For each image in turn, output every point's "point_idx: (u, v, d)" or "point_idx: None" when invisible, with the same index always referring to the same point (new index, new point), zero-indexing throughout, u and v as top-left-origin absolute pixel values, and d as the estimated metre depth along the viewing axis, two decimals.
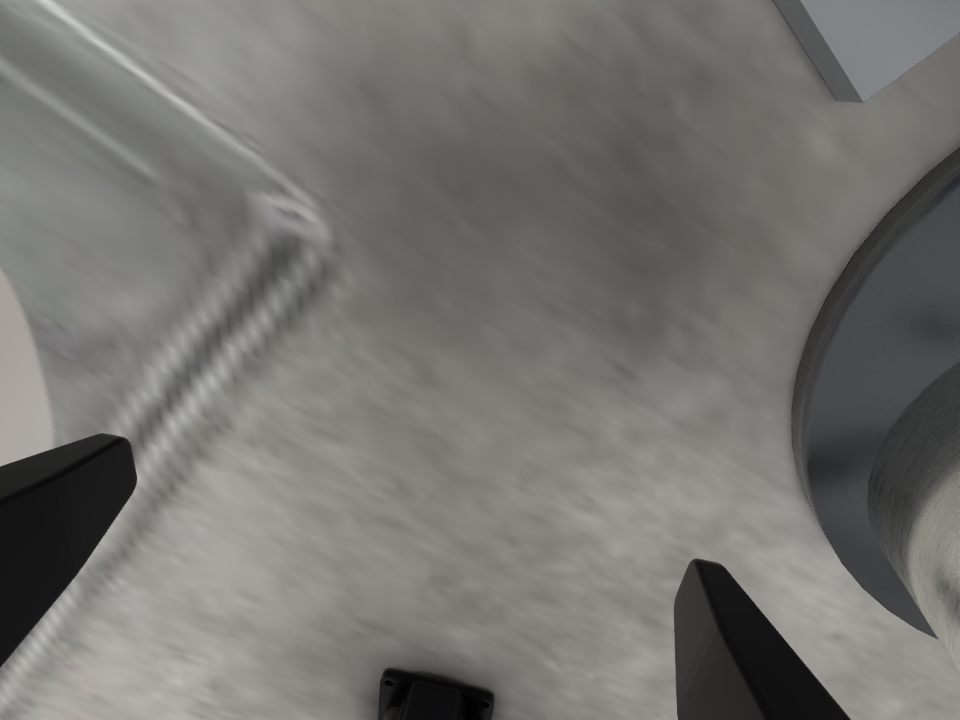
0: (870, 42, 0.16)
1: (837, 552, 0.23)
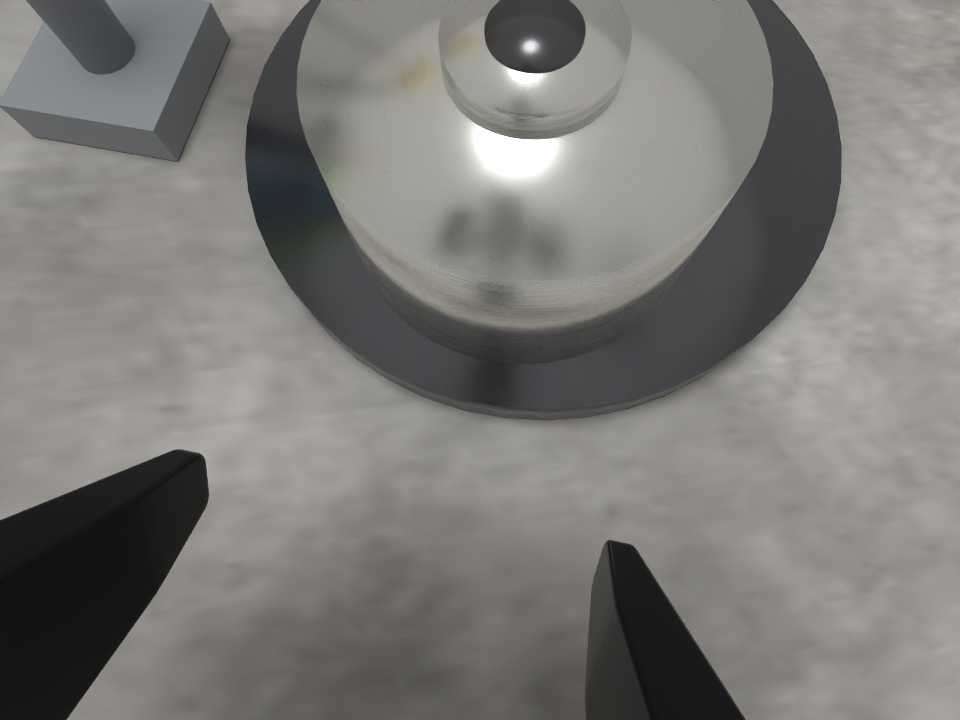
0: (132, 109, 0.25)
1: (445, 390, 0.21)
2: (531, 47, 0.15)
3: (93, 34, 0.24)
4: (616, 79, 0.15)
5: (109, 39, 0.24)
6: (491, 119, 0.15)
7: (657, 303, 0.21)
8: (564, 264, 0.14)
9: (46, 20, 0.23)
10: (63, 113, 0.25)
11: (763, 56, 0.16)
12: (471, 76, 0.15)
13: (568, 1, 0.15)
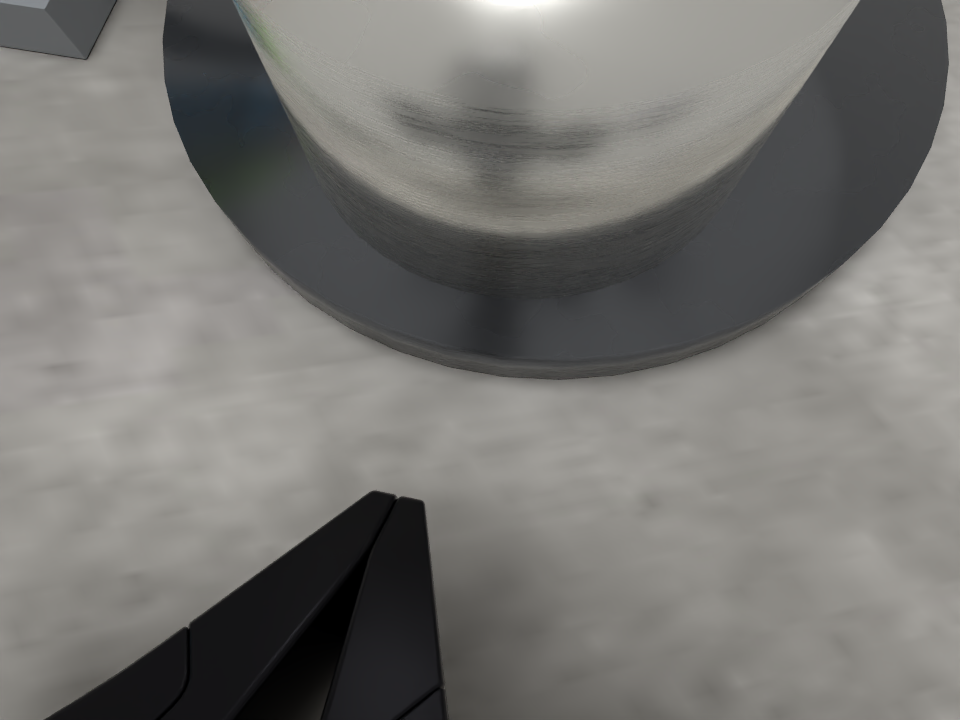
0: None
1: (422, 334, 0.15)
2: None
3: None
4: None
5: None
6: None
7: (713, 214, 0.15)
8: (601, 83, 0.09)
9: None
10: None
11: None
12: None
13: None
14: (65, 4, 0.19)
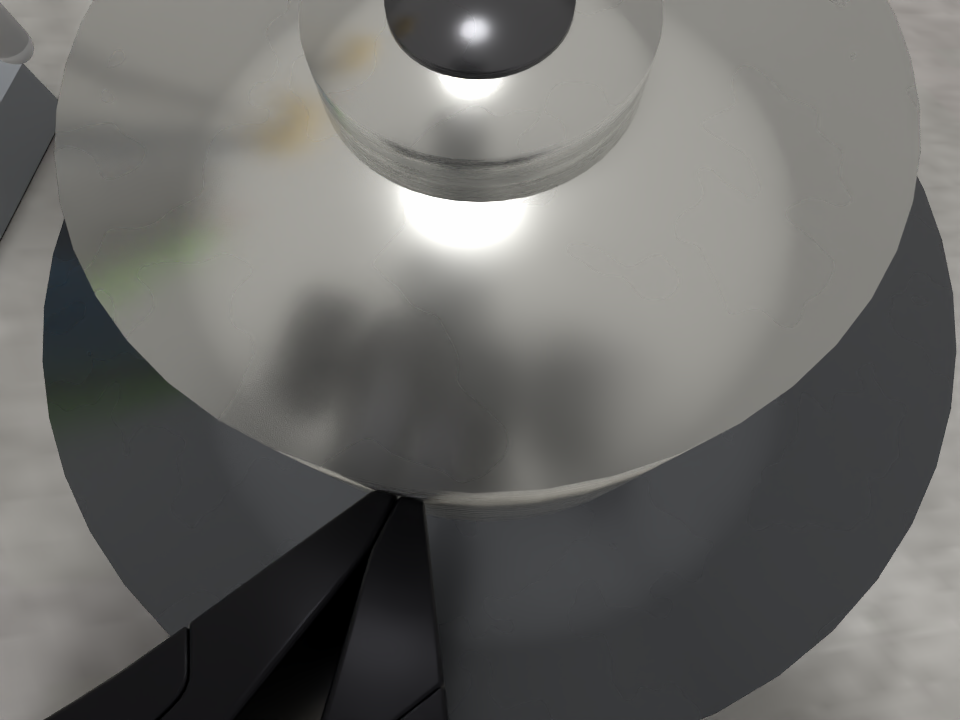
0: None
1: None
2: (471, 29, 0.08)
3: None
4: (633, 92, 0.08)
5: None
6: (395, 164, 0.08)
7: None
8: (524, 460, 0.07)
9: None
10: None
11: (896, 53, 0.09)
12: (354, 83, 0.08)
13: None
14: None
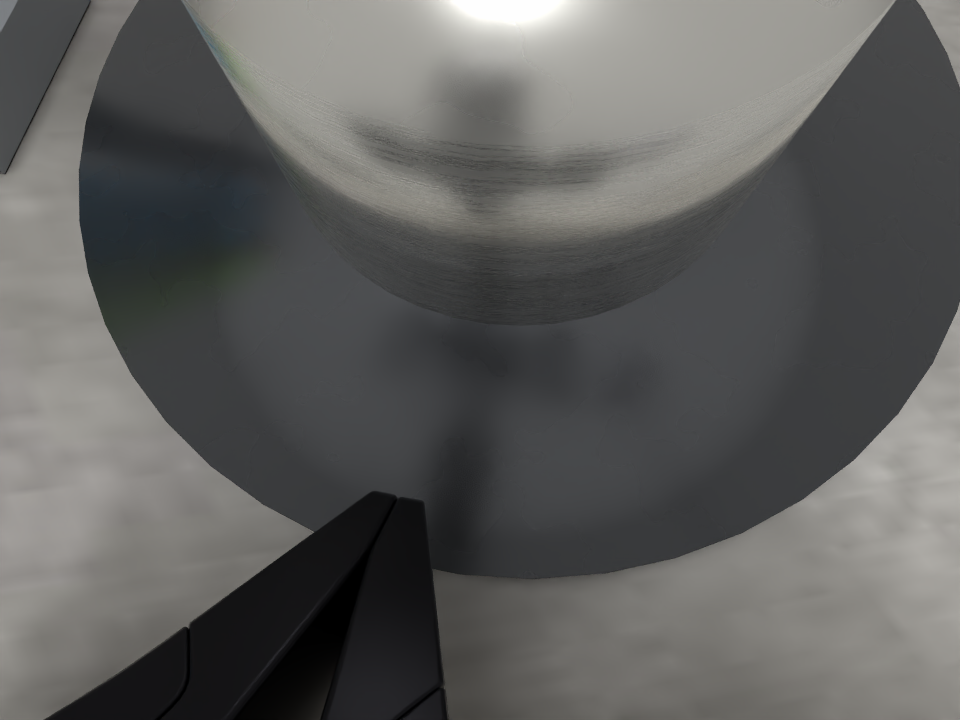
0: None
1: None
2: None
3: None
4: None
5: None
6: None
7: (716, 236, 0.14)
8: (588, 115, 0.08)
9: None
10: None
11: None
12: None
13: None
14: None
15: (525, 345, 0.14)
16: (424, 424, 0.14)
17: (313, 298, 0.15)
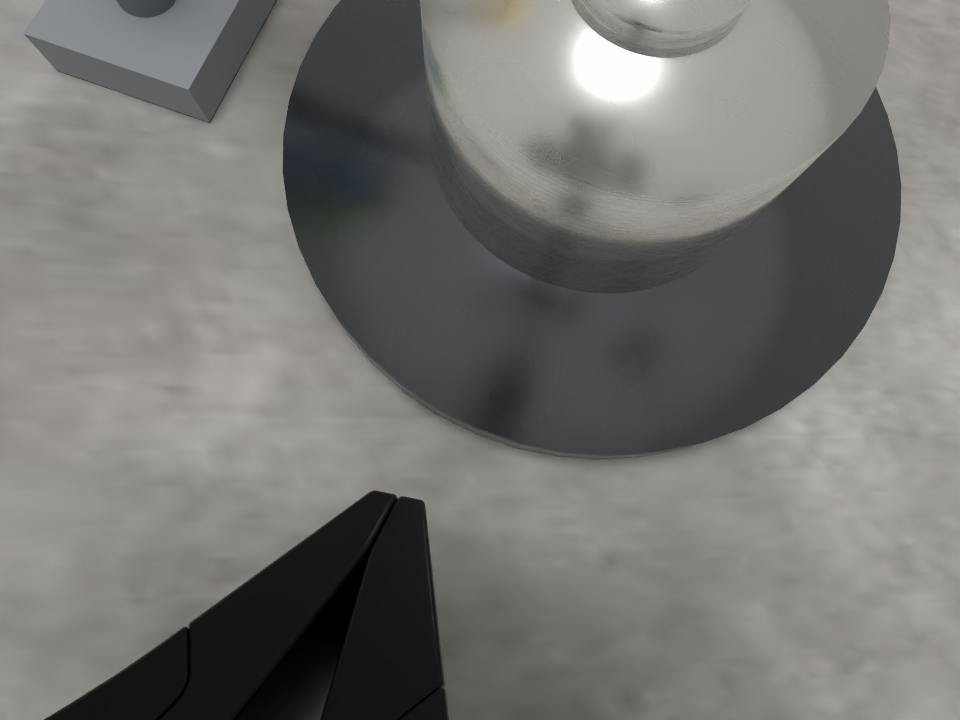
0: (168, 62, 0.23)
1: (462, 417, 0.20)
2: None
3: None
4: (743, 7, 0.15)
5: None
6: (613, 27, 0.15)
7: (718, 252, 0.21)
8: (662, 181, 0.15)
9: None
10: (93, 54, 0.23)
11: (882, 12, 0.16)
12: None
13: None
14: (202, 82, 0.23)
15: (581, 304, 0.21)
16: (508, 346, 0.21)
17: (442, 251, 0.22)
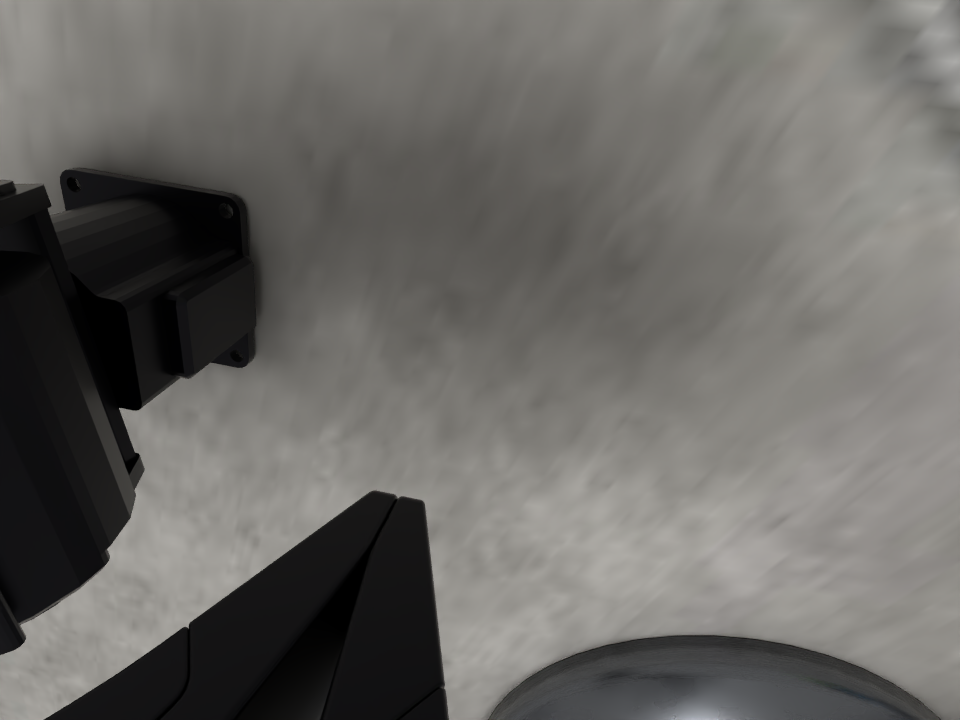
0: None
1: (589, 693, 0.25)
2: None
3: None
4: None
5: None
6: None
7: None
8: None
9: None
10: None
11: None
12: None
13: None
14: None
15: None
16: None
17: None
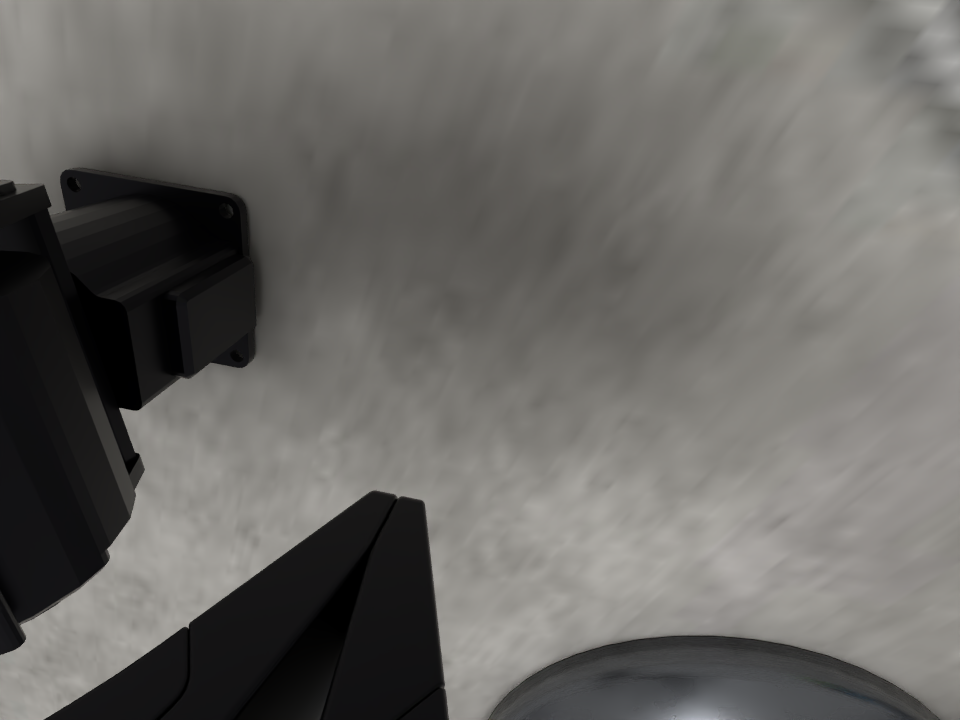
0: None
1: (588, 693, 0.25)
2: None
3: None
4: None
5: None
6: None
7: None
8: None
9: None
10: None
11: None
12: None
13: None
14: None
15: None
16: None
17: None
